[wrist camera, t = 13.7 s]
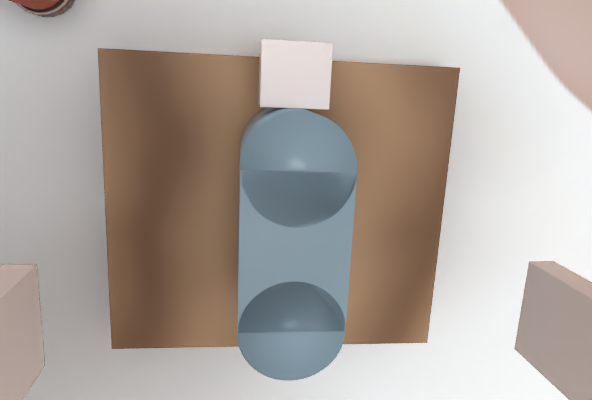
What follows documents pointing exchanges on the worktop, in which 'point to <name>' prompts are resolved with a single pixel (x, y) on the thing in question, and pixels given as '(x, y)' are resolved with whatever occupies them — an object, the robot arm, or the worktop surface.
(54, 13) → the lighter
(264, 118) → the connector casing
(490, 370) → the worktop surface
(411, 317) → the walnut board
